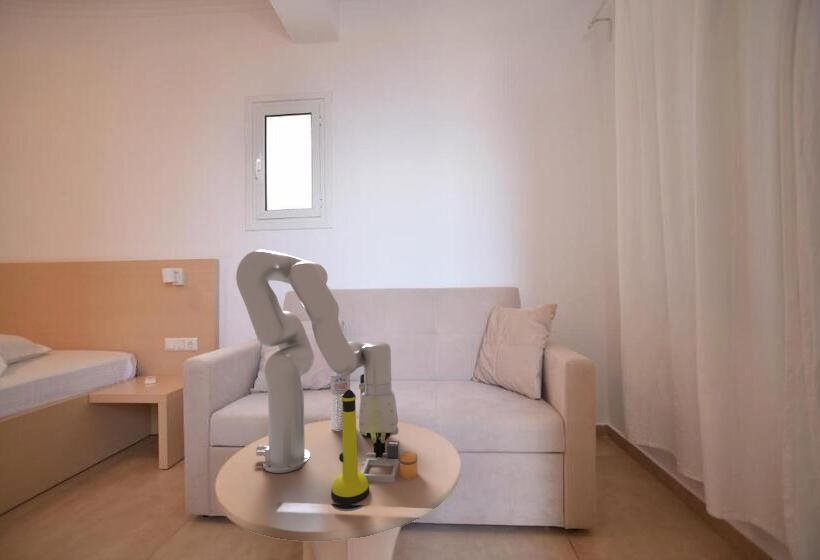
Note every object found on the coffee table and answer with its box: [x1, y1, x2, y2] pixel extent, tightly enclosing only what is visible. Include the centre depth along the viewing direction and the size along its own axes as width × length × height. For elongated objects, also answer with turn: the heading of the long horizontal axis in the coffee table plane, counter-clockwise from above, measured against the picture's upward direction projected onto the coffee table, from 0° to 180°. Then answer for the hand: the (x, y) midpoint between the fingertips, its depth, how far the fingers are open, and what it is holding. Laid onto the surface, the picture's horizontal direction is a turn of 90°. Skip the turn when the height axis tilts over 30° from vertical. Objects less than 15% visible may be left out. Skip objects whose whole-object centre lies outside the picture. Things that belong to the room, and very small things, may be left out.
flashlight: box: [330, 389, 370, 512], centre depth 82 cm, size 25×9×9 cm
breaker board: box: [360, 452, 402, 483], centre depth 93 cm, size 14×14×3 cm
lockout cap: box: [399, 451, 418, 481], centre depth 89 cm, size 4×4×6 cm
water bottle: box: [329, 368, 351, 432], centre depth 120 cm, size 7×7×25 cm
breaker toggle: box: [386, 440, 401, 460], centre depth 96 cm, size 3×3×5 cm
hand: (379, 455), depth 97 cm, fingers closed
